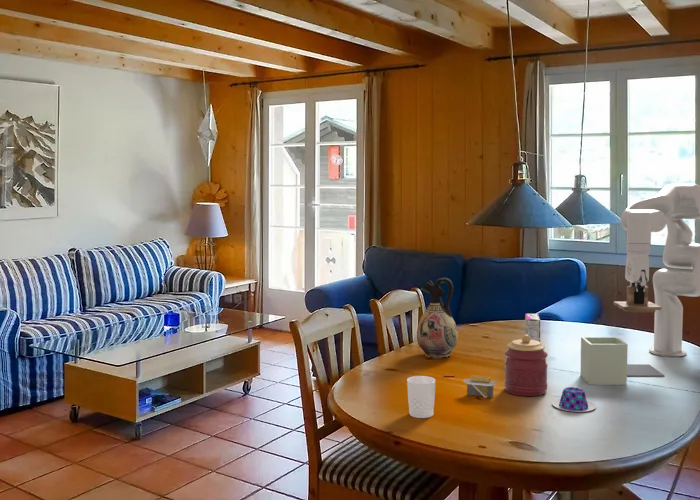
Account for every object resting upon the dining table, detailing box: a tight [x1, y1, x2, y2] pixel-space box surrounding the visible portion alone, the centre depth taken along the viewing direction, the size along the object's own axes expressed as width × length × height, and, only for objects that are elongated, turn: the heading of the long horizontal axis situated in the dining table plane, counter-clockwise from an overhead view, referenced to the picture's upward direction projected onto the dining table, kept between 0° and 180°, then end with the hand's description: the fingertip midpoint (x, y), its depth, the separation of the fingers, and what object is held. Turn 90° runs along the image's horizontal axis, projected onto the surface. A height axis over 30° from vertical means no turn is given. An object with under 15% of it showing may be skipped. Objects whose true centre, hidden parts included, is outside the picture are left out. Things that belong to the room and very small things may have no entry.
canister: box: [504, 334, 549, 397], centre depth 214 cm, size 13×13×18 cm
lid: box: [613, 285, 662, 313], centre depth 232 cm, size 11×12×8 cm
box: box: [579, 336, 628, 386], centre depth 224 cm, size 11×12×13 cm
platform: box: [463, 374, 498, 399], centre depth 209 cm, size 12×18×7 cm, turn 67°
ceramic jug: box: [416, 277, 459, 359], centre depth 258 cm, size 17×15×30 cm
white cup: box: [406, 375, 436, 419], centre depth 194 cm, size 8×8×10 cm
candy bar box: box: [524, 313, 541, 343], centre depth 249 cm, size 11×5×16 cm, turn 168°
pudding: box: [551, 386, 597, 413], centre depth 199 cm, size 12×12×5 cm
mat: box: [627, 363, 665, 378], centre depth 235 cm, size 14×14×1 cm
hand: (637, 302), depth 232 cm, fingers closed on lid, 3 cm apart
